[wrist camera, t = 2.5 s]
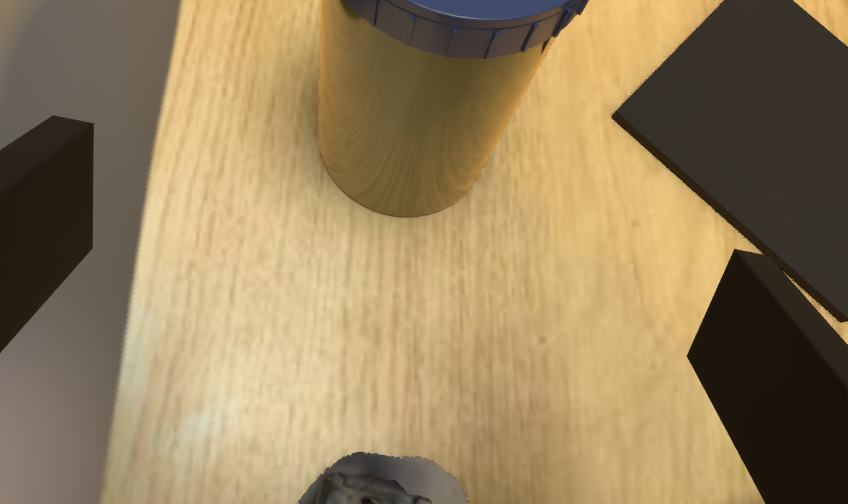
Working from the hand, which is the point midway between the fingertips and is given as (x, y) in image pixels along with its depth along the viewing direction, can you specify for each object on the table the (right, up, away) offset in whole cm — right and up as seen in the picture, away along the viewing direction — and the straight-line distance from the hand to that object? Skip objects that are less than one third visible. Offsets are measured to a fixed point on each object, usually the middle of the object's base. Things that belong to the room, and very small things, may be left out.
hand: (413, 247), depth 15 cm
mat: (+18, +6, +21) cm, 28 cm away
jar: (-1, +5, +18) cm, 19 cm away
